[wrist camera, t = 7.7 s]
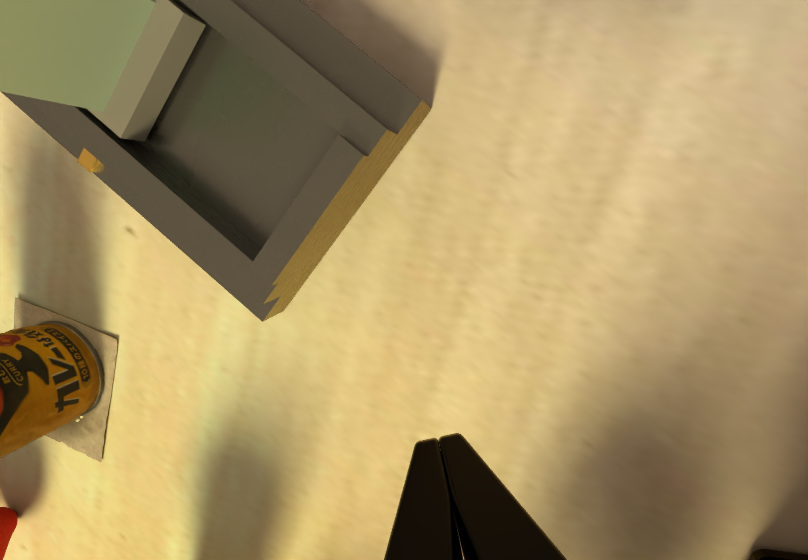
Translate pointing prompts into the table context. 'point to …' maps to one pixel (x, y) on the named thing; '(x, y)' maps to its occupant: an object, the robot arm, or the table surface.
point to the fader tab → (98, 56)
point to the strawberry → (6, 528)
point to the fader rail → (253, 145)
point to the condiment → (54, 381)
